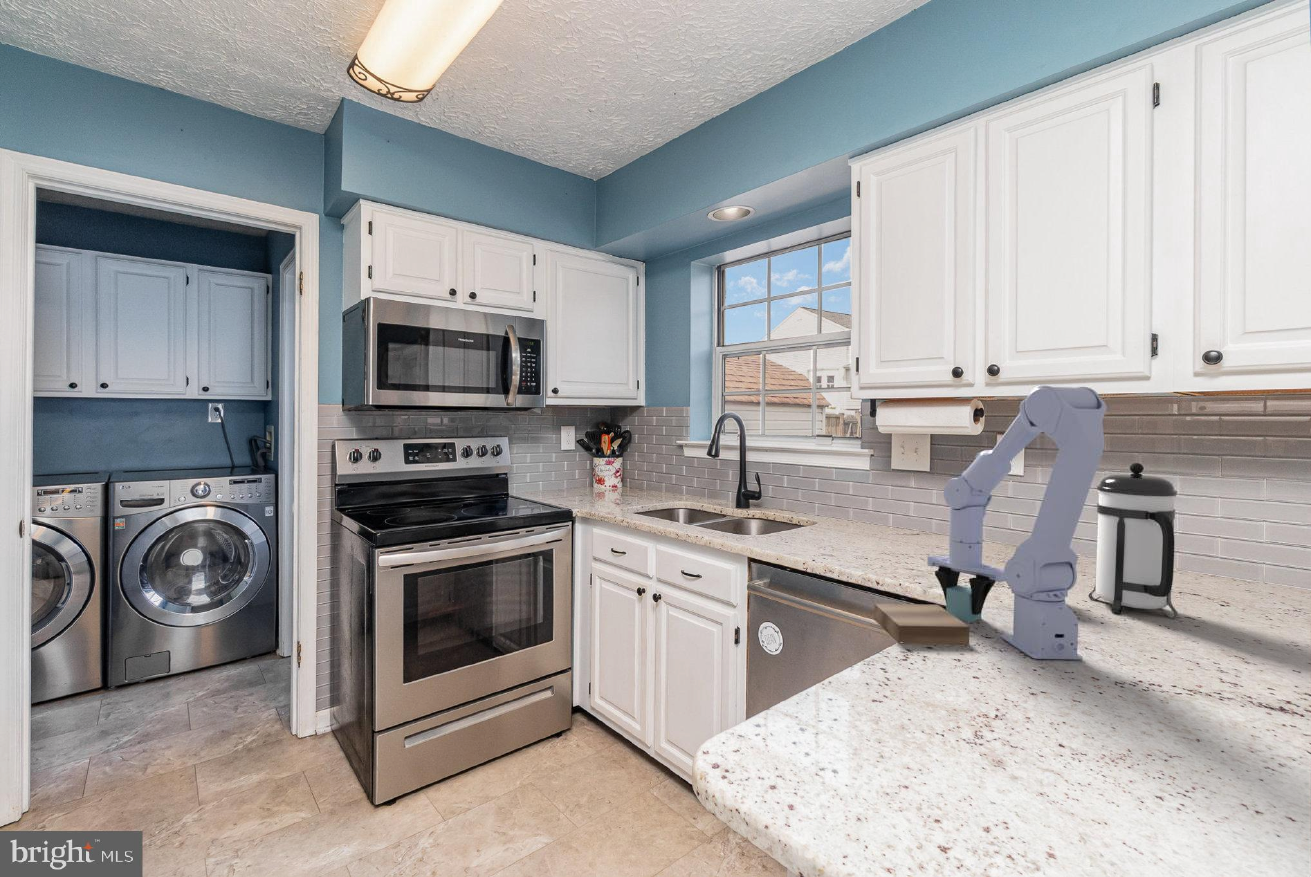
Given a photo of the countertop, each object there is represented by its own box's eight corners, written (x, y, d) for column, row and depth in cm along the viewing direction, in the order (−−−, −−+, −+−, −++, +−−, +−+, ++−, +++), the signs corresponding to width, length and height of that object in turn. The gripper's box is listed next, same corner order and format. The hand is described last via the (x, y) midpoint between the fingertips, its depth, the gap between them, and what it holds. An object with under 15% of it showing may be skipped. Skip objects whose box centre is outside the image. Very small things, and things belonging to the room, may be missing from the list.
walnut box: (968, 646, 103) (969, 626, 103) (898, 645, 103) (899, 625, 103) (937, 622, 115) (937, 604, 115) (874, 621, 115) (874, 603, 115)
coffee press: (1068, 603, 126) (1073, 461, 125) (1109, 593, 134) (1114, 459, 133) (1168, 630, 111) (1175, 468, 110) (1209, 617, 118) (1215, 465, 117)
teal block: (981, 618, 116) (982, 590, 116) (968, 622, 114) (969, 594, 113) (958, 612, 120) (959, 584, 120) (945, 616, 117) (946, 588, 117)
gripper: (1015, 545, 112) (1013, 617, 113) (942, 532, 124) (940, 597, 125) (995, 549, 108) (993, 623, 109) (922, 535, 121) (920, 602, 121)
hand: (963, 610), depth 117 cm, fingers closed on teal block, 4 cm apart
